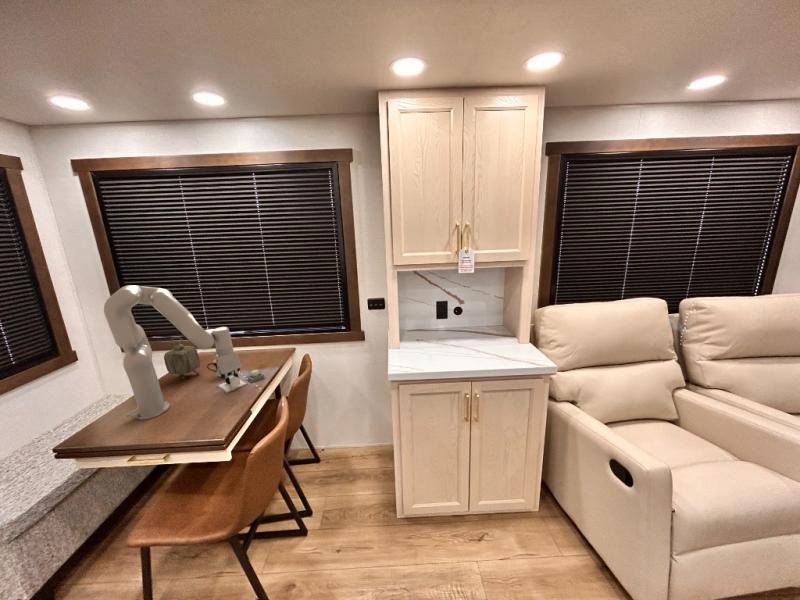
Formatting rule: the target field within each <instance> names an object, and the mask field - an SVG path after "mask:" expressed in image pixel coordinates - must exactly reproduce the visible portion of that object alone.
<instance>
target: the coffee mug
mask: <svg viewBox="0 0 800 600" xmlns="http://www.w3.org/2000/svg"><path fill="white" fill-rule="evenodd" d="M210 365H213V366H214V368H215V369H211V368H210V367H209V366H210ZM206 368H207V370H210V371H212V372H215V373H217V370H218V369H217V362H216V358H215V359H214V360H213V362H210V363H208V364H207V366H206ZM220 374H221V373H220ZM230 375H233V371H231V372H229V373H228V376H230ZM218 377H219V378H222V379H225V378H224V377H221V376H218Z"/></svg>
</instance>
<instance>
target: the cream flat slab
mask: <svg viewBox="0 0 800 600" xmlns="http://www.w3.org/2000/svg"><path fill="white" fill-rule="evenodd" d="M238 378H239V379H240V383H241V384H240V385H237V386H235V387H233V386H231V385H228V384H226V382H225V381H224V382H223V383H220V384H218V385H216V387H217V388H219V389H220V390H221V391H222V392H224V393H225V394H227V395H228V394H229V393H232V392H233V391H237V390H238V389H241V388H242V387H245V386H248V385H249V383H248V382H246V381H244V380H243V379H242V378H240V377H238Z"/></svg>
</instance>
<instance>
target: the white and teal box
mask: <svg viewBox="0 0 800 600" xmlns="http://www.w3.org/2000/svg"><path fill="white" fill-rule="evenodd" d="M228 377H229V381H230V385H231V386H233V387H235V386H237V385H240V384H241V383H240V379H241V378H240V377H239V376H238V377H235V376H234V375H233V374H231V375H230V376H228ZM239 378H240V379H239ZM225 382H226V381H225V380H224V383H225ZM226 384H227V383H226ZM228 385H229V384H228Z"/></svg>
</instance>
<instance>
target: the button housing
mask: <svg viewBox="0 0 800 600" xmlns="http://www.w3.org/2000/svg"><path fill="white" fill-rule="evenodd" d="M246 379H247V381H249V382H250V383H256V382H259V381H260V380H263V379H265V374H264V373H262V372H260V371H259V376H257V377H255V378H252V377H251V374H249V375H246Z"/></svg>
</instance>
